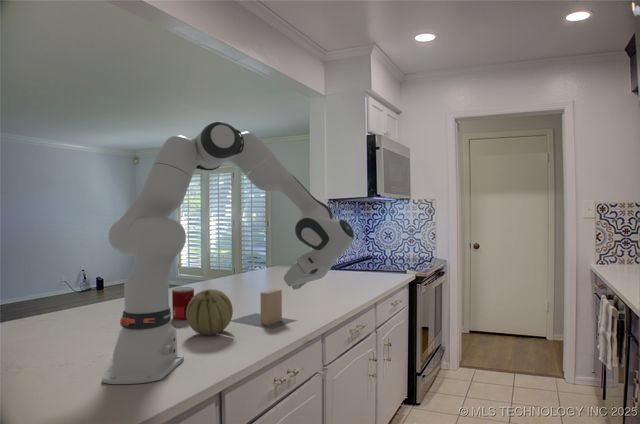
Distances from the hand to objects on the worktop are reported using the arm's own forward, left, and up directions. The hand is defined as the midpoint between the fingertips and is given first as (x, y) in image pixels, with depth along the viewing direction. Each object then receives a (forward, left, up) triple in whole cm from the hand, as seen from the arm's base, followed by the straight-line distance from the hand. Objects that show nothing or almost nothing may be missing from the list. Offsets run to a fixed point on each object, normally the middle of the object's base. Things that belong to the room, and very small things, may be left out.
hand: (295, 287), depth 152 cm
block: (+7, +8, -13) cm, 17 cm away
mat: (+9, +11, -14) cm, 20 cm away
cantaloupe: (-4, +28, -14) cm, 32 cm away
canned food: (+20, +41, -14) cm, 48 cm away
